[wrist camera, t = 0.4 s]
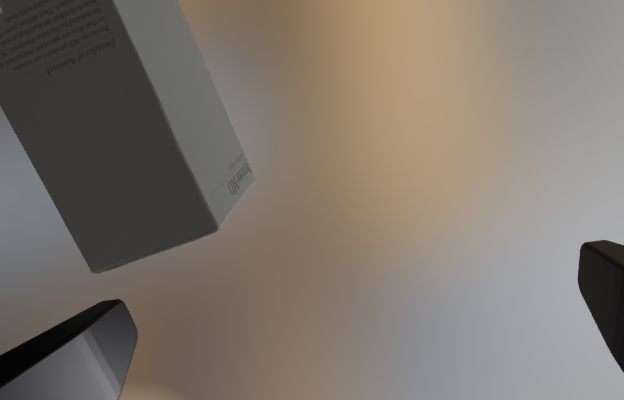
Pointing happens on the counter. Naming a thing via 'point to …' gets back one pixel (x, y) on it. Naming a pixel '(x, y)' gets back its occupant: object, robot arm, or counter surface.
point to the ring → (2, 22)
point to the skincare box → (120, 123)
